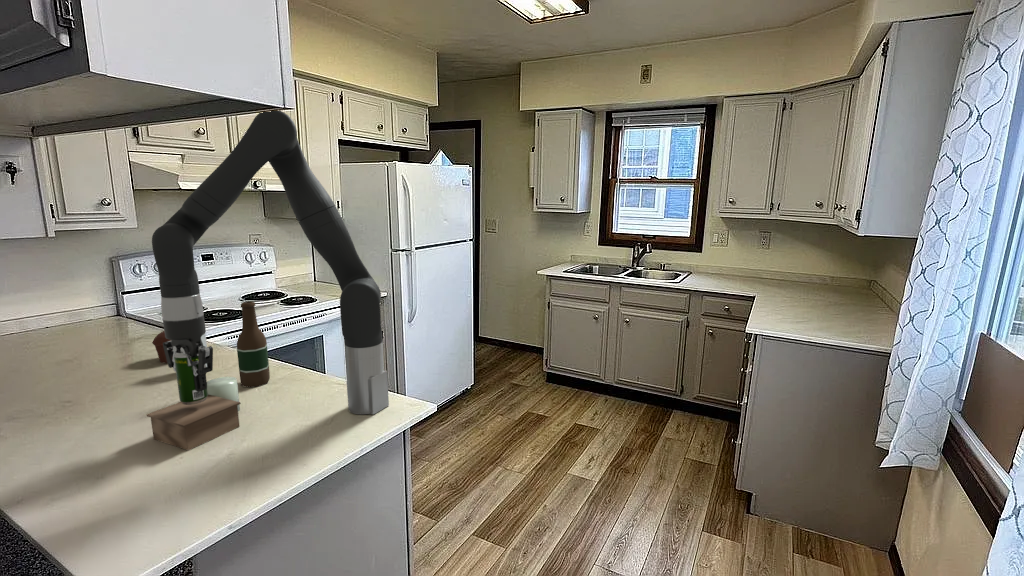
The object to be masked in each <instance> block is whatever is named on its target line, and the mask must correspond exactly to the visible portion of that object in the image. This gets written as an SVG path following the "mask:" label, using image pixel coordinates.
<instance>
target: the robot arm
mask: <svg viewBox="0 0 1024 576" xmlns="http://www.w3.org/2000/svg"><path fill="white" fill-rule="evenodd" d="M267 163H269V164H270V166H271V168H272V169H273V171H274V172H275V174H276V175H277V177H278V179H279V181H280V182H281V184H282V187H283V189H284V192H285V194H286V198H287V200H288V202H289V206H290V207H291V209H292V211H293V214H294V216H295V218H296V220H297V222H298V224H299V225H300V227H301V229H302V231H303V234H304V235H305V237H306V238H307V240H308V241H309V243H310V244H311V245H312V246H313V248H314V249H315V251H316V252H317V253H318V254H319V255H320V256H321V257H322V259H323V260H324V261H325V262H326V264H327V265H328V266H329V268H330V269H331V270H332V273H333V274H334V276H335V278H336V281H337V282H338V285H339V288H340V289H341V294H340V297H339V310H340V324H341V333H342V337H343V346H344V361H345V363H344V364H345V378H346V392H347V393H346V395H347V407H348V411H349V412H350V413H351V414H353V415H354V414H355V415H375V414H377V413H379V412H380V411H382V410H383V409H386V408H387V407H389V406H390V403H389V402H390V401H389V383H388V382H389V379H388V378H389V377H388V371H387V370H386V369H385V368H384V366H385V365H384V343H383V330H382V318H381V316H382V315H381V300H382V294H381V292H382V291H381V290H380V287H379V285H378V284H377V282H376V281H375V280H374V278H373V276H372V275H371V273H370V272H369V271H368V269H367V268H366V265H364V262H363V261H362V259H361V257H360V256H359V253H358V252H357V250H356V247H355V244H354V242H353V239H352V236H351V235H350V232H349V230H348V229H347V226H346V224H345V222H344V220H343V218H342V216H341V214H340V212H339V209H338V208H337V206H336V204H335V202H334V201H333V199H332V198H331V196H330V194H329V193H328V192H327V190H326V188H325V187H324V186H323V184H322V183H321V182H320V180H319V179H318V178H317V177H316V175H315V174H314V172H313V171H312V169H311V168H310V165H309V163H308V161H307V159H306V157H305V154H304V152H303V150H302V147H301V145H300V142H299V139H298V131H297V127H296V125H295V122H294V120H293V119H292V118H291V116H290V115H288V114H287V113H285V112H283V110H279V111H271V112H263V113H260V112H259V113H258V114H257V115H255V117H254V119H253V120H252V122H251V124H250V125H249V127H248V128H247V130H245V133H244V134H243V136H242V137H241V139H240V140H239V142H238V143H237V144H236V146H235V147H234V148H233V149H232V151H231V152H230V153H229V154H228V155H227V156H226V158H224V160H223V161H222V162H220V164H219V165H218V166H217V167H216V168H215V169H214V170H213V172H211V173H210V174H209V176H208V177H206V178H205V180H203V181H202V182H201V183H200V184H199V186H197V188H196V189H194V191H192V192H191V194H190V195H189V196H187V198H186V199H185V200H184V202H183V204H182V206H181V207H180V208H179V209H177V211H176V212H175V213H174V214H173V215H172V216H171V217H170V218H169V219H168V220H167V221H166V222H164V223H163V224H162V225H161V226H159V227H158V228H156V229H155V230H154V232H153V234H152V237H151V246H152V252H153V257H154V260H155V265H156V269H157V272H158V282H159V291H160V298H161V300H160V309H161V316H162V323H163V331H164V332H165V337H166V338H167V339H169V340H171V341H167V342H164V343H163V348H164V351H165V355H166V359H167V363H166V364H167V366H168V368H170V369H172V368H173V371H174V372H175V373H176V368H175V361H174V354H175V351H176V352H177V353H178V351H181V353H183V354H184V355H186V357H187V363H188V366H189V367H191V369H192V371H193V374H194V383H195V390H196V391H198V392H200V391H203V390H205V389H207V381H208V380H207V373H209V372H212V371H213V366H214V362H213V361H214V347H213V346H212V345H209V346H207V347H205V346H203V343H202V340H201V336H202V335H204V334H206V330H207V329H206V324H205V322H206V320H205V314H204V313H205V312H204V307H203V306H204V305H203V301H202V297H201V291H200V284H199V283H200V282H199V277H198V274H197V271H196V269H195V257H194V248H193V247H194V246H195V245H196V244H197V242H198V241H199V240H200V239H201V238H202V236H203V235H204V234H205V233H206V232H207V231H208V229H209V228H210V227H211V226H213V225H214V224H215V223H216V222H218V220H219V219H220V218H221V217H223V216H224V214H225V213H226V212H227V211H228V210H229V209H230V208H231V207H232V205H234V203H235V202H236V201H237V200H238V198H239V197H240V195H241V194H242V193H243V192H244V190H245V189H246V187H247V185H249V183H250V182H251V180H252V179H253V178H254V176H255V175H257V173H258V172H259V171H260V170H261V169H262V168H263V167H264V166H265V165H266V164H267ZM172 356H173V359H172ZM190 356H191V357H192V358H195V357H198V361H195V362H193V361H192V360H191V357H190ZM206 363H207V367H206V365H205V364H206ZM197 364H198V369H197V367H196V365H197Z"/></svg>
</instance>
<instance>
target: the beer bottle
mask: <svg viewBox="0 0 1024 576" xmlns="http://www.w3.org/2000/svg"><path fill="white" fill-rule="evenodd" d="M255 306H256V302H255V301H251V300H250V301H249V300H248V301H243V302H241V304H240V308H241V315H242V317H241V319H242V321H241V322H242V327H241V328H242V329H241V332H240V334H239V335H238V337H237V341H236V351H237V353H236V354H237V363H238V370H239V371H238V373H239V380H240V385H241V386H242V387H245V388H256V387H257V388H259V387H261V386H263V385H266V384H268V383H269V381H270V380H271V377H270V376H271V375H270V362H269V361H270V360H269V352H268V342H267V338H266V336H265V334H264V332H263V331H262V330H261V329H260V327H259V324H258V319H257V315H256V314H257V313H256V307H255Z"/></svg>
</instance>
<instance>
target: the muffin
mask: <svg viewBox="0 0 1024 576" xmlns="http://www.w3.org/2000/svg"><path fill="white" fill-rule="evenodd" d="M167 341H171V340H169V339H167V338H166V337H165V332H164V330H162V331H161V332H159V333H158V334H156V336H155V337H154V339H153V340H152V342H151V344H153V346H154V347H155V350H156V353H157V356H158V359H159V361H160V362H161V364H168V363H167V359H166V355H165V351H164V348H163V343H164V342H167ZM172 359H173V356H172Z"/></svg>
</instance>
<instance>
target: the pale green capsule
mask: <svg viewBox="0 0 1024 576" xmlns="http://www.w3.org/2000/svg"><path fill="white" fill-rule="evenodd" d="M207 391H208V394H209V395H213V396H217V397H221V398H225V399H229V400H233V401H237V402H240V398H239V386H238V379H237V378H236V377H234V376H222V377H216V378H213V379H212V378H211V379H210V380H207ZM240 405H241V404H239V405H237V407H238V413H239V412H240V410H241V406H240Z"/></svg>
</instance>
